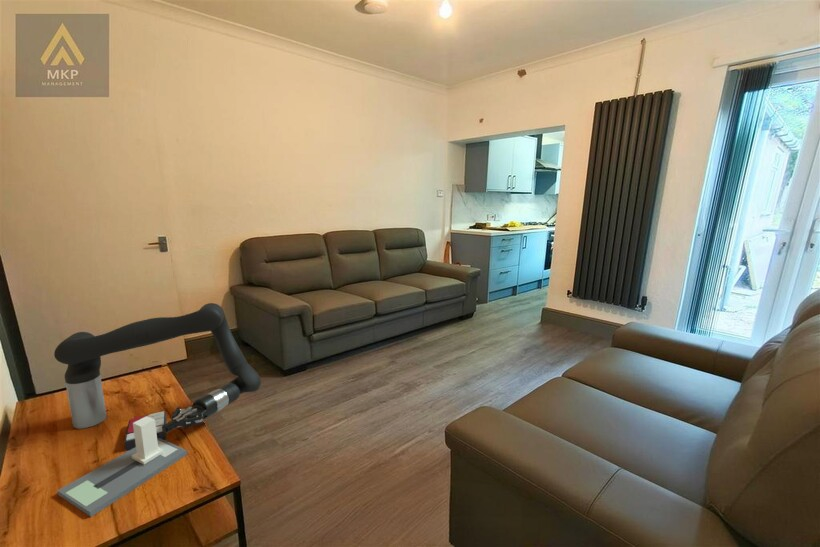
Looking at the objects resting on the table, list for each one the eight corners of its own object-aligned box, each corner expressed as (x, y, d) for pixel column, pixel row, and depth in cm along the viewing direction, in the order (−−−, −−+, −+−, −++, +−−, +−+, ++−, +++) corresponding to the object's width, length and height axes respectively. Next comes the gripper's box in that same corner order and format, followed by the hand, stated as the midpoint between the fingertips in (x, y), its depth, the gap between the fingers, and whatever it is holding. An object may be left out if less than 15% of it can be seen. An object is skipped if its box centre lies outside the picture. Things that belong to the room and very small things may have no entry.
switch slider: (131, 458, 112) (127, 423, 109) (152, 446, 117) (148, 413, 114) (144, 464, 109) (139, 429, 107) (164, 452, 115) (160, 418, 112)
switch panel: (58, 495, 99) (57, 490, 99) (155, 439, 123) (155, 435, 122) (90, 517, 93) (90, 512, 93) (187, 454, 117) (186, 450, 116)
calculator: (165, 409, 135) (164, 429, 122) (166, 419, 135) (165, 441, 123) (128, 418, 129) (123, 440, 116) (130, 429, 129) (125, 452, 117)
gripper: (198, 389, 134) (149, 413, 118) (223, 398, 129) (175, 425, 113) (200, 407, 136) (151, 434, 120) (225, 417, 130) (178, 446, 115)
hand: (163, 429), depth 117 cm, fingers closed
